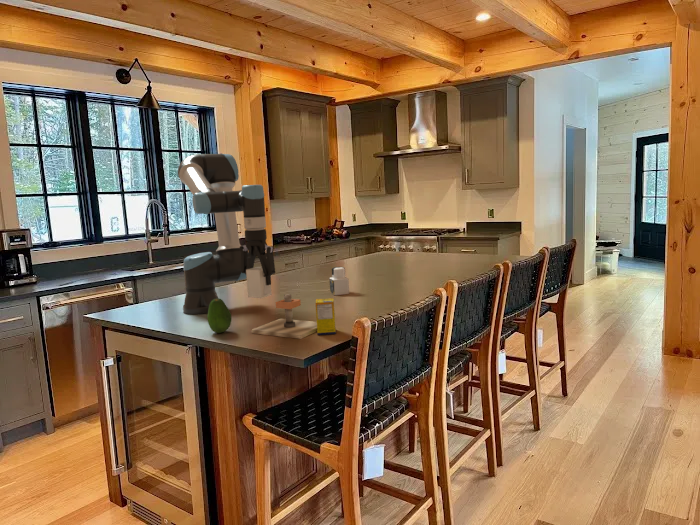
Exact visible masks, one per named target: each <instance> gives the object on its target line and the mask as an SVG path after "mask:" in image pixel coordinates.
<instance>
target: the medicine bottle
mask: <svg viewBox="0 0 700 525" xmlns="http://www.w3.org/2000/svg"><path fill="white" fill-rule="evenodd" d="M349 279H350V278H348V277H347V276H346V267H344V266H335V267H332V268H331V277H329V291H330V292H329V293H330V294H332V295H333V296H340V295H341V296H342V295H349V294H350V281H349Z"/></svg>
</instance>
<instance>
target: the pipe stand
mask: <svg viewBox="0 0 700 525" xmlns="http://www.w3.org/2000/svg"><path fill="white" fill-rule="evenodd" d="M283 298H284V302H292V299H293V298H292V294H289V293H288V294H283ZM284 313H285V315H284V316H285V318H278V319H276V320H273V321H270V322H267V323H265V324H263V325H259V326H258V327H255V328H253V329H251V334H256V335H265V336H274V337H282V338H293V339H299V340H300V339H303V338H306V337H307V336H310V335H311V334H314V333H317V321H312V320H311V321H309V320H301V319H300V320H299V319H294V317H293V316H294V315H293V308H292V309H284Z"/></svg>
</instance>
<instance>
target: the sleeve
mask: <svg viewBox="0 0 700 525" xmlns="http://www.w3.org/2000/svg"><path fill="white" fill-rule="evenodd" d="M263 276H264V272H263V269H262V266H256V267H253V268H250V269H247V270H246V277H247V278H246V288H247V297H248V298H254V299H264V298H267V297H270V296H272V294H273V293H272V284H271V285H270V294H267V295H264V288H263Z"/></svg>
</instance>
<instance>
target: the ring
mask: <svg viewBox="0 0 700 525" xmlns="http://www.w3.org/2000/svg"><path fill="white" fill-rule="evenodd" d="M291 299H292V302H284V299H281V300H278V301H275V309H283V310H285V309H292V310H293V309H295V308H297V307H298V308H299V306H300V307H301V306H302V305H301V304H302V302H301V299H297V298H291Z"/></svg>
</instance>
